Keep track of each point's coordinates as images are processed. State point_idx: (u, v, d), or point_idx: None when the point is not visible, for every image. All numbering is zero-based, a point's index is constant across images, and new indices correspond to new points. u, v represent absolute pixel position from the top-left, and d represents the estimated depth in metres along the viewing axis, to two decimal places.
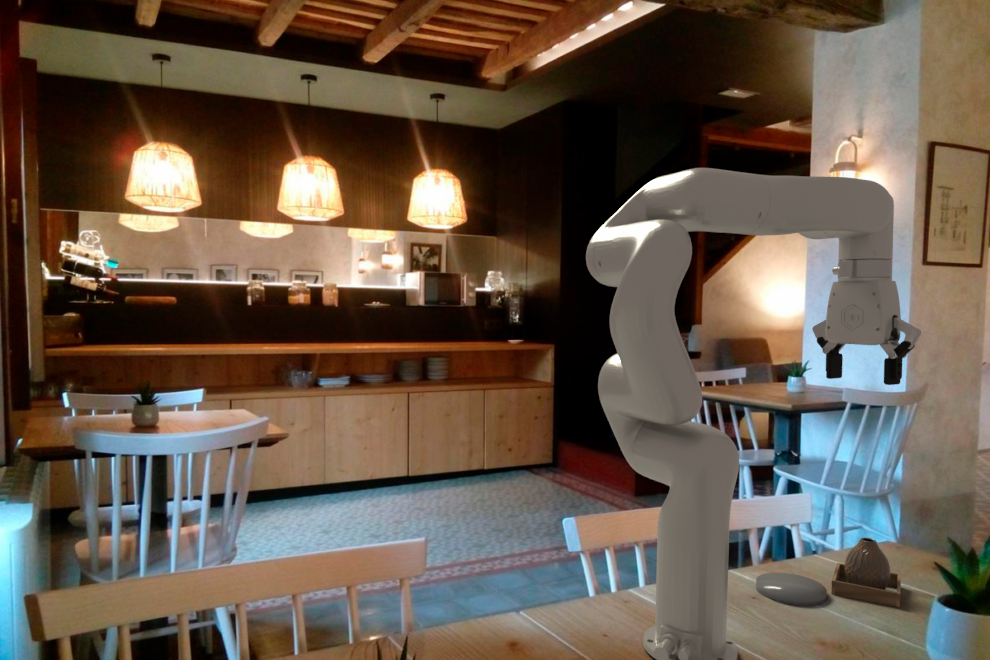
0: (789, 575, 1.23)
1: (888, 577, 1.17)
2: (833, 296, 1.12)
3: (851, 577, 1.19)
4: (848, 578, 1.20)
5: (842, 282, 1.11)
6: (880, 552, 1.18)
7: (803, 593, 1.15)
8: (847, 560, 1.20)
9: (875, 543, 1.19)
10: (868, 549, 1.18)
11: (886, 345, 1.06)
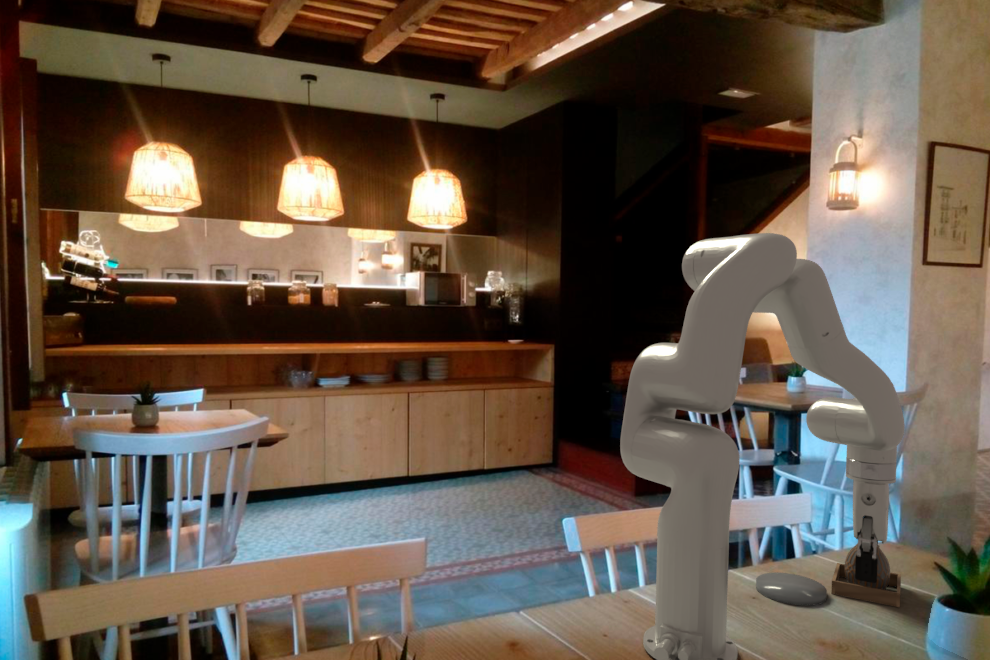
0: (789, 575, 1.23)
1: (888, 577, 1.17)
2: (886, 498, 1.15)
3: (851, 577, 1.19)
4: (848, 578, 1.20)
5: (887, 483, 1.17)
6: (880, 552, 1.18)
7: (803, 593, 1.15)
8: (847, 560, 1.20)
9: None
10: None
11: None
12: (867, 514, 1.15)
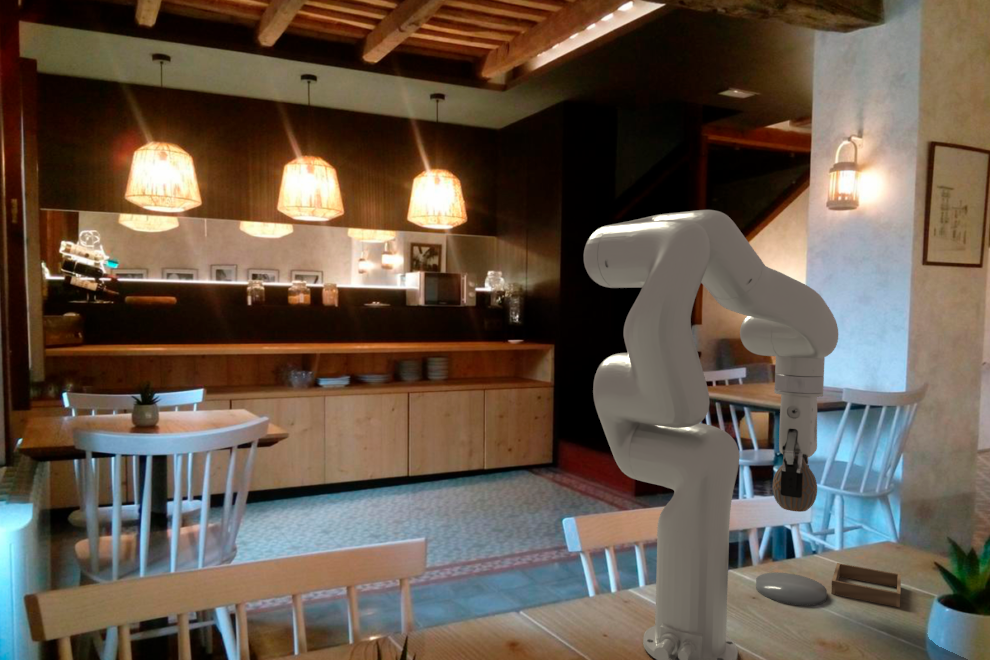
0: (789, 575, 1.23)
1: (814, 493, 1.15)
2: (811, 411, 1.13)
3: (778, 494, 1.17)
4: (775, 495, 1.18)
5: (813, 397, 1.15)
6: (807, 468, 1.16)
7: (803, 593, 1.15)
8: (774, 477, 1.18)
9: (802, 459, 1.17)
10: None
11: None
12: (792, 427, 1.14)
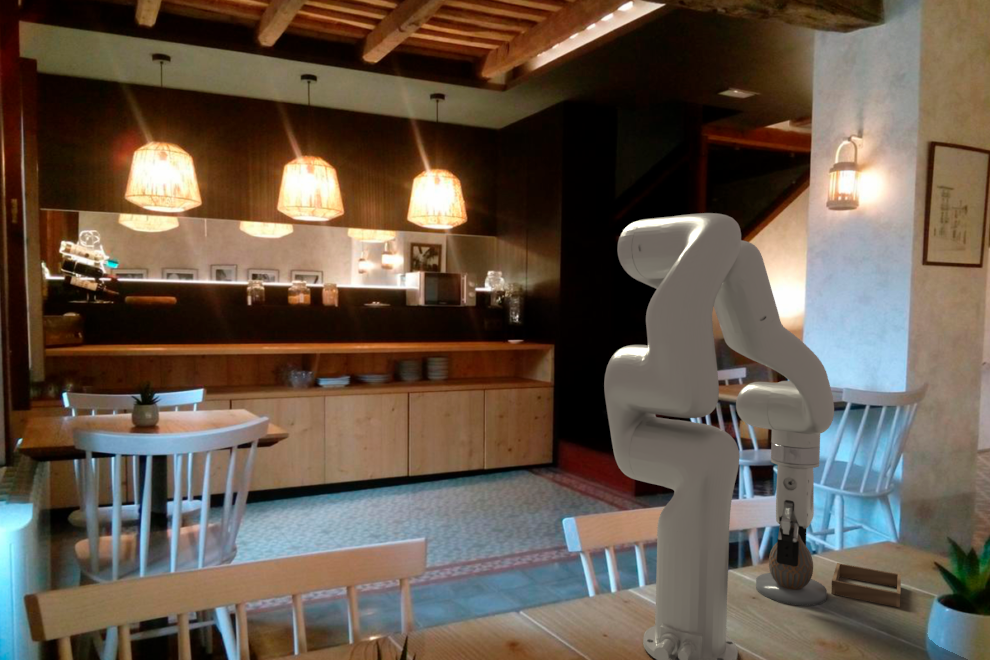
0: None
1: (810, 571, 1.16)
2: (808, 483, 1.14)
3: (774, 572, 1.18)
4: (771, 572, 1.18)
5: (809, 468, 1.15)
6: (803, 546, 1.17)
7: (803, 593, 1.15)
8: (771, 554, 1.19)
9: (798, 537, 1.17)
10: None
11: None
12: (789, 497, 1.14)
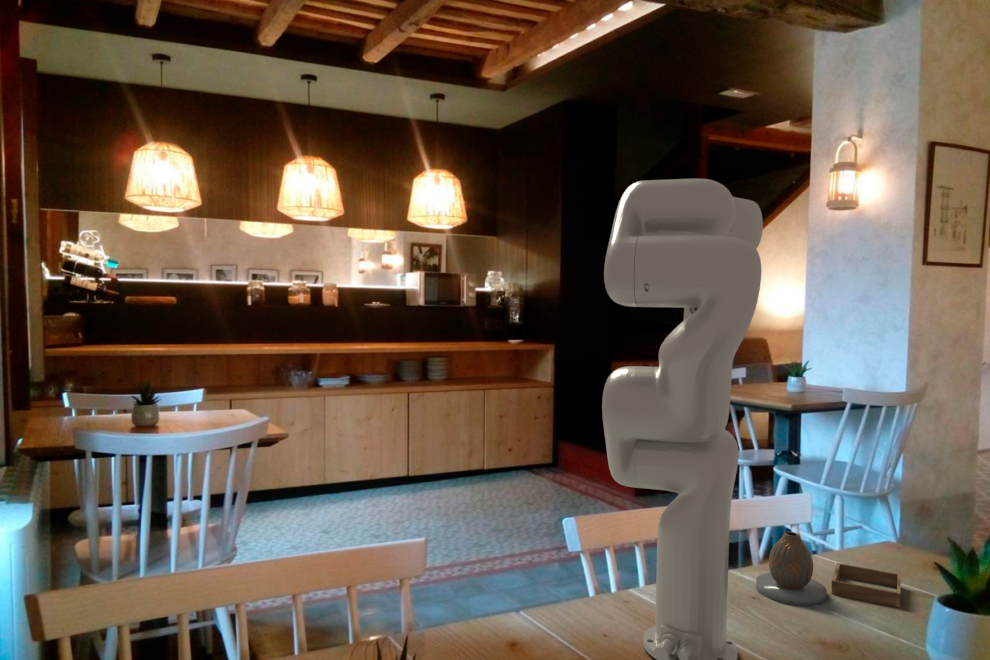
0: None
1: (810, 571, 1.16)
2: None
3: (774, 572, 1.18)
4: (771, 572, 1.18)
5: None
6: (803, 546, 1.17)
7: (803, 593, 1.15)
8: (771, 554, 1.19)
9: (798, 537, 1.17)
10: (791, 543, 1.17)
11: None
12: None
